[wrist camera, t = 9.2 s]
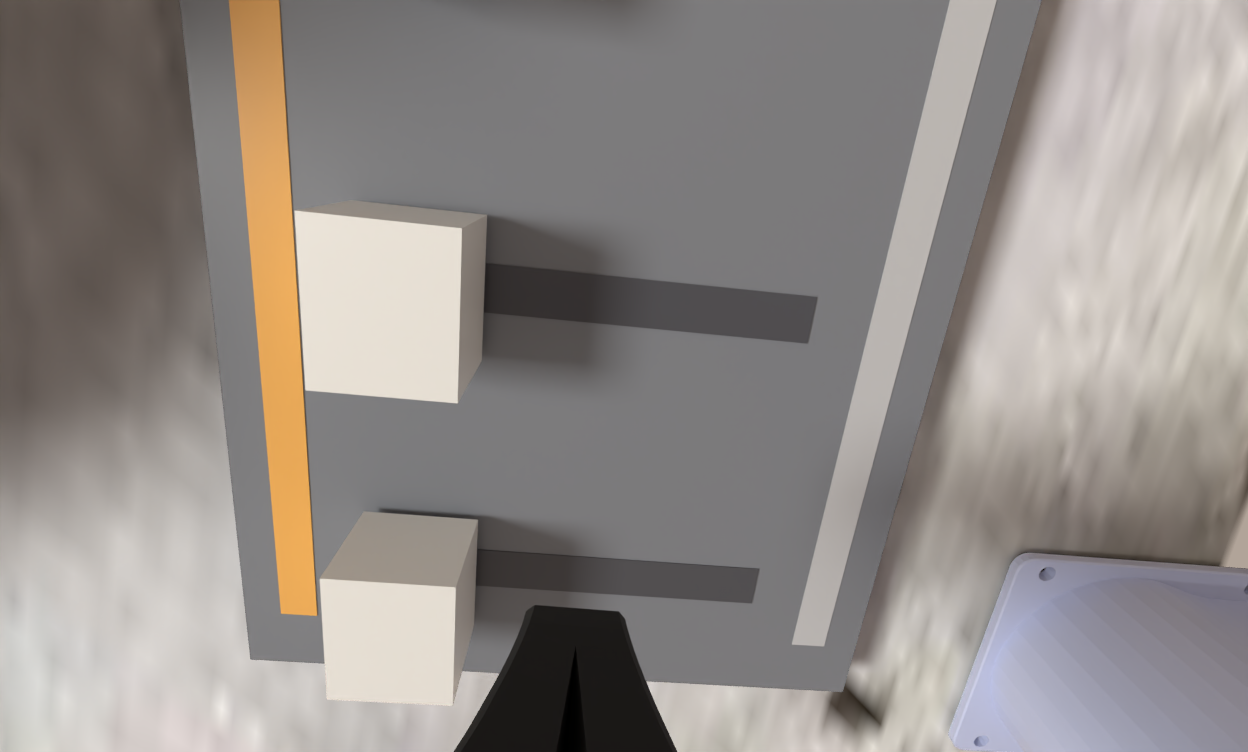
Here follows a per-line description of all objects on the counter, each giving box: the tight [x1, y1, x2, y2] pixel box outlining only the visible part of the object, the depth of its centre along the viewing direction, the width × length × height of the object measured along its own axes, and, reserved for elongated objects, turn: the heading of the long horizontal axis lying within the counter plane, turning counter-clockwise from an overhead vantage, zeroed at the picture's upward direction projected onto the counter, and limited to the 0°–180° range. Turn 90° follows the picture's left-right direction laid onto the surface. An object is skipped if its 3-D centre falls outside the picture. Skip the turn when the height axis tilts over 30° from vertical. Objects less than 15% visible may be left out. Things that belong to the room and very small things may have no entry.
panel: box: [180, 0, 1042, 692], centre depth 16 cm, size 18×24×2 cm
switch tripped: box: [295, 200, 487, 403], centre depth 13 cm, size 3×4×3 cm
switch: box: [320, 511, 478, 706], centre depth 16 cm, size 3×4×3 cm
